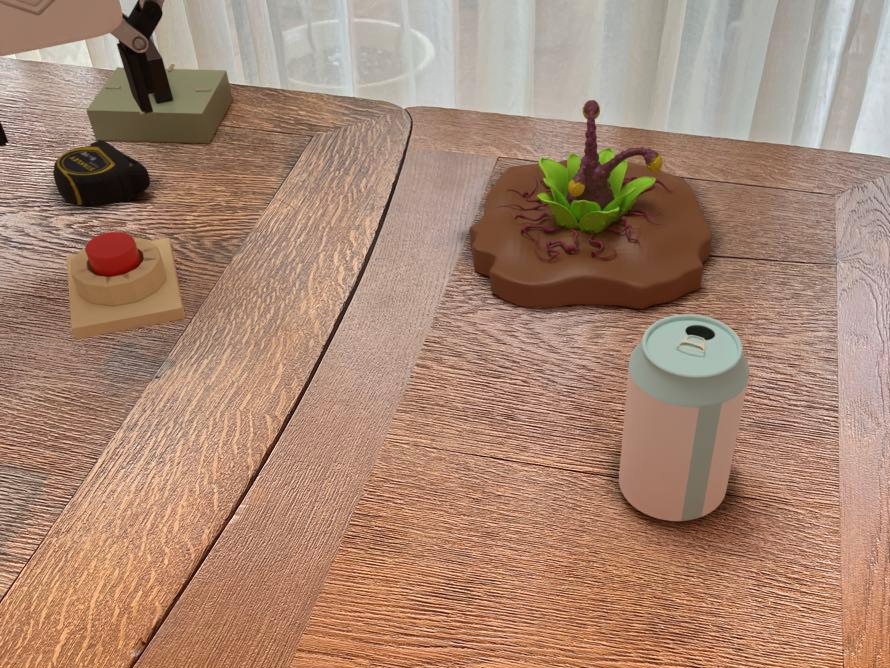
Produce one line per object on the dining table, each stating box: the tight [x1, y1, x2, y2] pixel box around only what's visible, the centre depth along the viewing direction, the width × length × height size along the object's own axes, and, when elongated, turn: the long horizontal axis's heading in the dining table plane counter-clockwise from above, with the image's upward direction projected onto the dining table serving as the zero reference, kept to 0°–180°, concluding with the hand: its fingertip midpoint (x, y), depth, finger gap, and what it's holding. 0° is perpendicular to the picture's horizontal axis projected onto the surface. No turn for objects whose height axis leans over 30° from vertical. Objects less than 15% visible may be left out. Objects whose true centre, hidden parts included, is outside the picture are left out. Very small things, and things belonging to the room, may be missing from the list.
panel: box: [85, 63, 234, 144], centre depth 100 cm, size 11×10×3 cm
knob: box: [145, 37, 173, 103], centre depth 97 cm, size 6×2×4 cm, turn 27°
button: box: [84, 231, 141, 277], centre depth 78 cm, size 4×4×2 cm
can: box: [618, 313, 750, 522], centre depth 64 cm, size 7×7×12 cm
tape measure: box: [52, 140, 151, 208], centre depth 90 cm, size 7×7×4 cm
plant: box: [469, 99, 713, 310], centre depth 83 cm, size 20×20×11 cm
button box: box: [65, 237, 186, 340], centre depth 80 cm, size 10×8×4 cm
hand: (73, 121), depth 71 cm, fingers open, 9 cm apart
